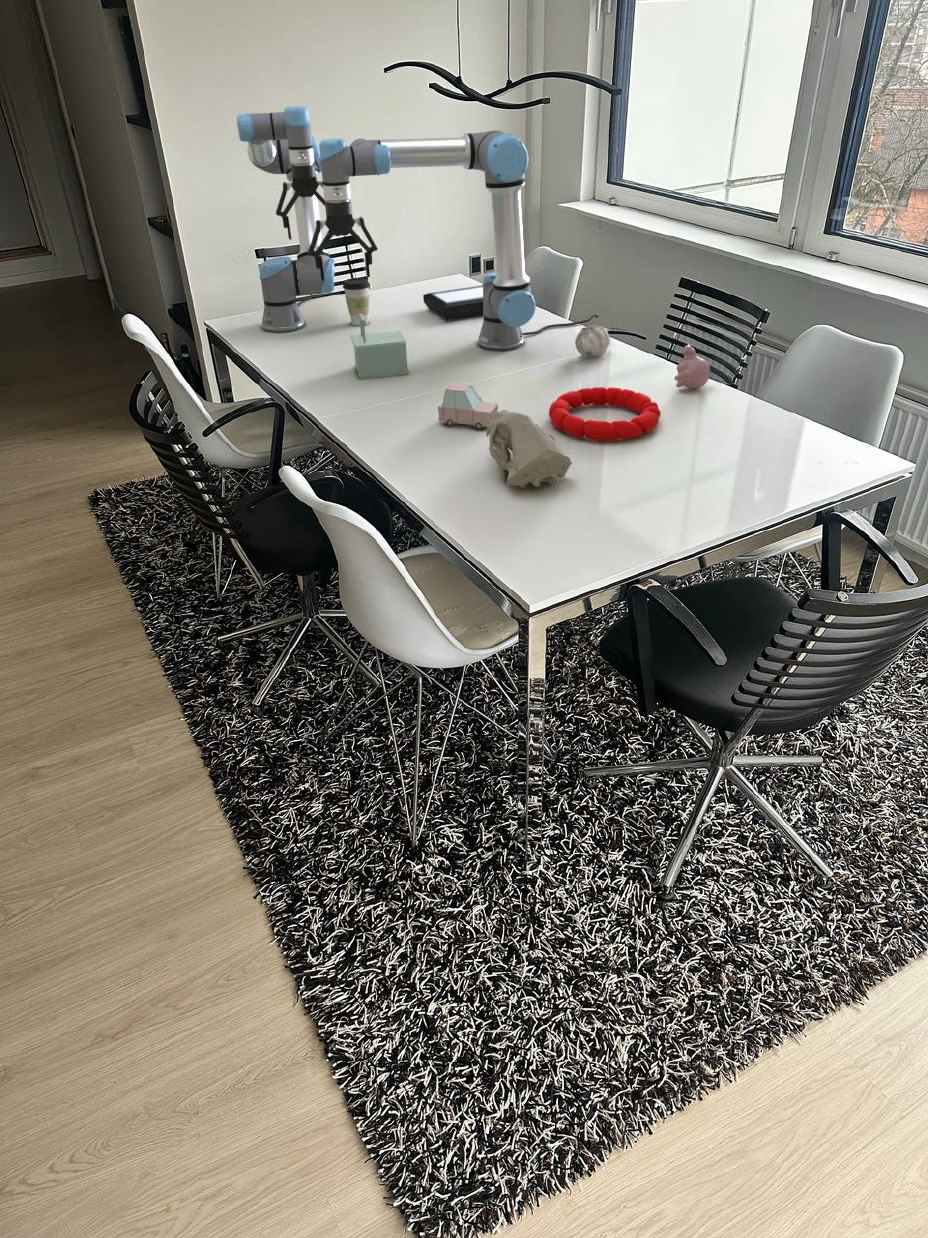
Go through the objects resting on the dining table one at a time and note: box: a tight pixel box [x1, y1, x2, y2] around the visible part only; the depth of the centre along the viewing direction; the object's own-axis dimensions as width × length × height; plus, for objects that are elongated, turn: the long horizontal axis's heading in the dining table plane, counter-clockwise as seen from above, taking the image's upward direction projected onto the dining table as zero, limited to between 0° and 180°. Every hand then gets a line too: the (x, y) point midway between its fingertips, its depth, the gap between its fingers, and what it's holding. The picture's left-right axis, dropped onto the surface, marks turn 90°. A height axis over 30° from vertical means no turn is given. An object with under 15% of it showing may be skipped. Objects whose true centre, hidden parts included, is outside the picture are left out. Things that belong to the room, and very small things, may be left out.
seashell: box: [574, 324, 611, 358], centre depth 286 cm, size 10×15×10 cm
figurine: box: [674, 344, 711, 390], centre depth 259 cm, size 9×11×12 cm
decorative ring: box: [548, 386, 661, 442], centre depth 242 cm, size 7×30×30 cm
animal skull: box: [485, 409, 573, 489], centre depth 216 cm, size 17×25×20 cm
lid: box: [350, 313, 407, 349], centre depth 276 cm, size 16×12×8 cm
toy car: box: [437, 382, 499, 431], centre depth 243 cm, size 9×15×10 cm, turn 70°
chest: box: [353, 343, 409, 380], centre depth 281 cm, size 15×12×9 cm
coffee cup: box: [342, 277, 371, 327], centre depth 323 cm, size 10×10×15 cm
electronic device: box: [422, 284, 483, 322], centre depth 335 cm, size 32×6×20 cm
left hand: (311, 237), depth 288 cm, fingers open, 13 cm apart
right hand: (345, 277), depth 266 cm, fingers open, 13 cm apart
